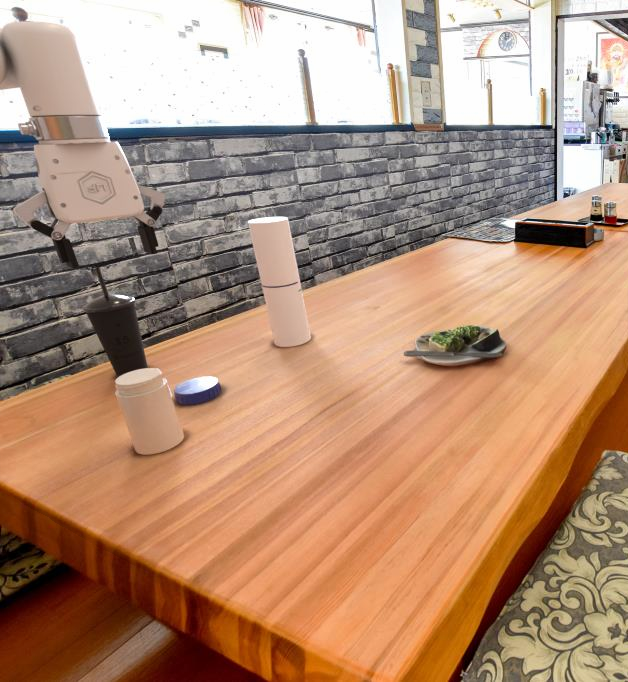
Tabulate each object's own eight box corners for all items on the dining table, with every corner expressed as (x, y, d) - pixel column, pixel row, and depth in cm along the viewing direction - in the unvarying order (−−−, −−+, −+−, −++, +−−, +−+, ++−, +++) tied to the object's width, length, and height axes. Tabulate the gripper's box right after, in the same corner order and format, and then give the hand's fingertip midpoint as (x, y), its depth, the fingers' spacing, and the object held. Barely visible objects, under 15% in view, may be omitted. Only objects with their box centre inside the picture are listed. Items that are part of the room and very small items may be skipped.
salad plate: (411, 380, 91) (408, 356, 90) (397, 343, 107) (394, 322, 105) (516, 362, 97) (516, 339, 95) (489, 330, 113) (487, 309, 111)
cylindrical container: (266, 344, 109) (239, 222, 100) (291, 332, 115) (267, 216, 106) (294, 348, 107) (268, 223, 97) (318, 336, 113) (296, 217, 103)
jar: (130, 458, 72) (105, 389, 68) (141, 436, 77) (118, 371, 73) (180, 448, 74) (158, 380, 70) (187, 427, 79) (167, 363, 75)
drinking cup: (100, 375, 97) (61, 270, 90) (145, 360, 103) (113, 260, 96) (118, 385, 93) (79, 275, 86) (164, 369, 99) (131, 265, 92)
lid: (219, 400, 87) (216, 389, 86) (173, 408, 85) (169, 397, 84) (223, 383, 93) (220, 373, 92) (180, 391, 91) (177, 380, 90)
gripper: (-9, 133, 61) (45, 277, 68) (156, 129, 74) (188, 251, 80) (-22, 134, 66) (30, 269, 72) (136, 130, 78) (168, 245, 84)
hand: (113, 259), depth 76 cm, fingers open, 9 cm apart
